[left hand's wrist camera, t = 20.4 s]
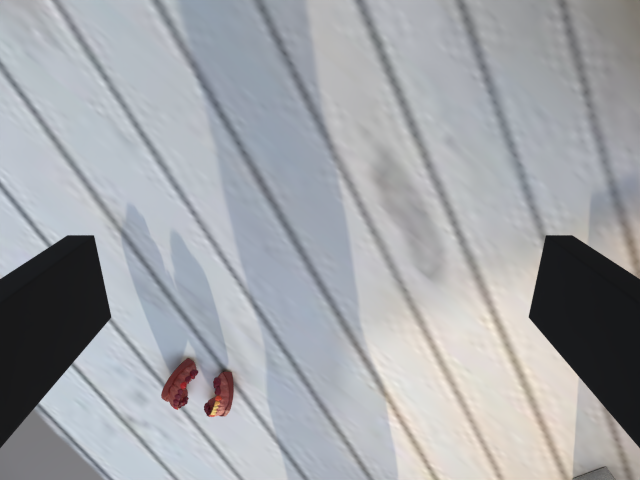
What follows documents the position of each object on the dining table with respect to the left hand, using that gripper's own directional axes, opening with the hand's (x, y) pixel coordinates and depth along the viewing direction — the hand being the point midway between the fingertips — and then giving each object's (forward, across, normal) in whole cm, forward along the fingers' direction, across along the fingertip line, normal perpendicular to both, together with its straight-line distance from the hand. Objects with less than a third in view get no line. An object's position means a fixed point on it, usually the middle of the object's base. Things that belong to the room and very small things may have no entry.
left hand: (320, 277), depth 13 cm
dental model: (+31, -14, -30) cm, 45 cm away
